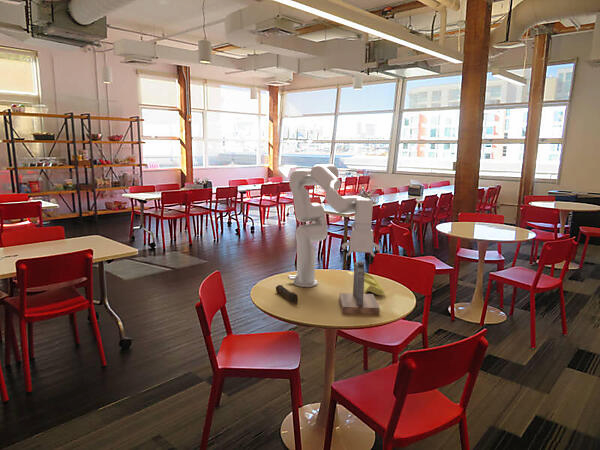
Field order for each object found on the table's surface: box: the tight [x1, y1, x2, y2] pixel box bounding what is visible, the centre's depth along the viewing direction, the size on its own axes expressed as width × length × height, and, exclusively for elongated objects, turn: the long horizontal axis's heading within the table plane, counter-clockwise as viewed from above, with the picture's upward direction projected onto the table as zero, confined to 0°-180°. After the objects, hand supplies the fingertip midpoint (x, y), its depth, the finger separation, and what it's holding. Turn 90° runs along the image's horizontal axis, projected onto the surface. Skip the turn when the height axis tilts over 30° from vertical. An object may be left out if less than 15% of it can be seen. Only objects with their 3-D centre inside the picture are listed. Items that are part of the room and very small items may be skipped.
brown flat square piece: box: [338, 292, 380, 315], centre depth 187 cm, size 16×17×3 cm
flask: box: [352, 261, 366, 306], centre depth 186 cm, size 4×14×18 cm, turn 0°
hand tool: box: [275, 284, 299, 305], centre depth 195 cm, size 19×4×5 cm, turn 26°
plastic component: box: [364, 272, 385, 296], centre depth 210 cm, size 20×7×10 cm
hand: (359, 263), depth 184 cm, fingers open, 9 cm apart
